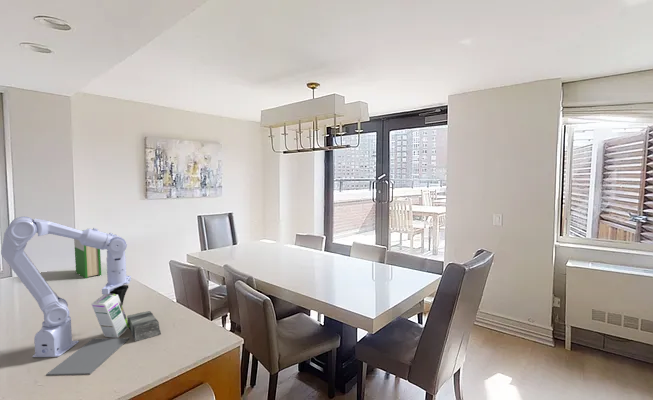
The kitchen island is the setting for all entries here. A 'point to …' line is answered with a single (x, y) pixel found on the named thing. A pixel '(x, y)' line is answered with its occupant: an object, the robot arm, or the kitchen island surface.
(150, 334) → the stone block
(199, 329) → the kitchen island surface
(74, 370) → the mat
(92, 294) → the kitchen island surface
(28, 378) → the kitchen island surface
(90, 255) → the hardback book
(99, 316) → the syrup box
